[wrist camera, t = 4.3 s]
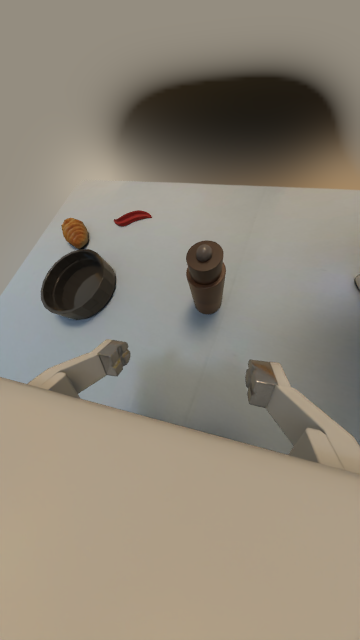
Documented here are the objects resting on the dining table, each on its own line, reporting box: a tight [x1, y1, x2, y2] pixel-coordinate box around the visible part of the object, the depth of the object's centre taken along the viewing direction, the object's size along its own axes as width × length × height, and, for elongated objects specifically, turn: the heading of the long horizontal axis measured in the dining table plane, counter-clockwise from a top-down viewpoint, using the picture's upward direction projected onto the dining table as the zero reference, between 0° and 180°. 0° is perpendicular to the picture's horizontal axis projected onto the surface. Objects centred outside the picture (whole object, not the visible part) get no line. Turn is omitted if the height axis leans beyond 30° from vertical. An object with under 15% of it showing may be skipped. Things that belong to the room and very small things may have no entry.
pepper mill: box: [186, 241, 226, 314], centre depth 22 cm, size 5×5×14 cm
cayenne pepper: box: [114, 211, 152, 226], centre depth 40 cm, size 12×5×2 cm, turn 75°
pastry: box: [62, 218, 88, 249], centre depth 41 cm, size 9×7×4 cm
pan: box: [41, 249, 115, 320], centre depth 34 cm, size 16×16×4 cm
